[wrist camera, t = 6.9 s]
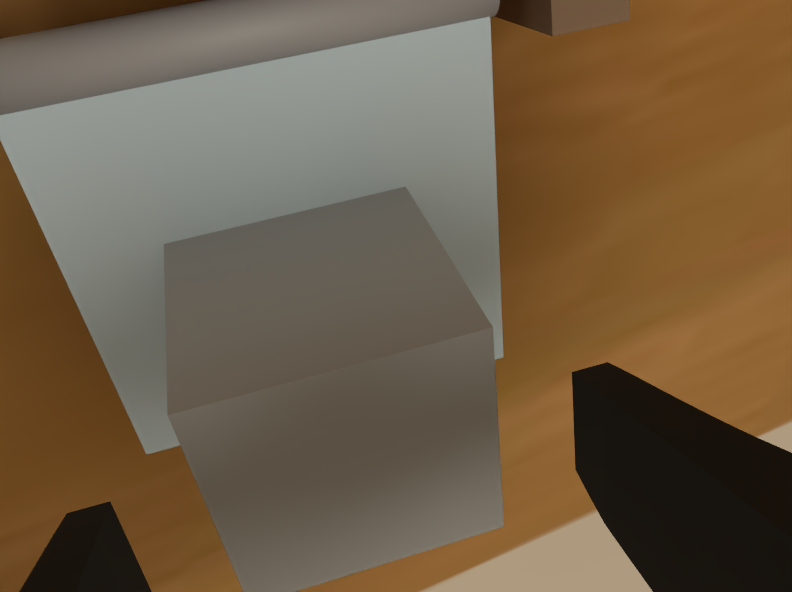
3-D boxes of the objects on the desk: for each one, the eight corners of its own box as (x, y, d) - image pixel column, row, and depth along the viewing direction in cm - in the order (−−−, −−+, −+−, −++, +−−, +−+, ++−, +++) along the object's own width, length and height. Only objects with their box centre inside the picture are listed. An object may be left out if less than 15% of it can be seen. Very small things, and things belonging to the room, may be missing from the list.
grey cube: (227, 420, 18) (249, 605, 14) (163, 243, 15) (167, 415, 11) (427, 365, 18) (503, 526, 14) (405, 186, 15) (492, 327, 11)
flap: (-186, -331, 10) (-279, -363, 8) (441, -403, 12) (509, -448, 9) (143, 407, 19) (141, 491, 17) (483, 318, 20) (524, 383, 18)
